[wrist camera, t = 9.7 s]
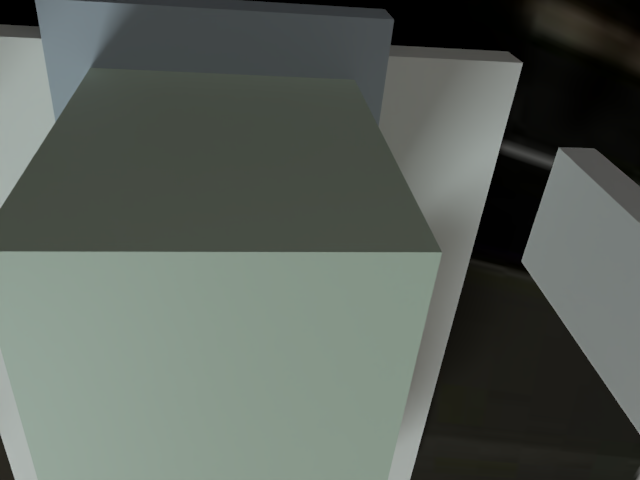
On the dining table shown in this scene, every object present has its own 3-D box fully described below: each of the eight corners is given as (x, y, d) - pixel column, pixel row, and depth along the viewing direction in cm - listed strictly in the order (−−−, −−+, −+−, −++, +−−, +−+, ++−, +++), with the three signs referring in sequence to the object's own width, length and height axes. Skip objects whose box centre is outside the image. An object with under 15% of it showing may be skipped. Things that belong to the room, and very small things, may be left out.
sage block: (90, 67, 11) (-27, 251, 6) (354, 79, 12) (442, 252, 7) (117, 281, 14) (52, 529, 9) (331, 281, 14) (380, 508, 10)
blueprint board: (-120, -22, 11) (-144, -13, 10) (516, 17, 12) (533, 28, 12) (35, 496, 19) (27, 521, 18) (399, 476, 21) (405, 498, 20)
